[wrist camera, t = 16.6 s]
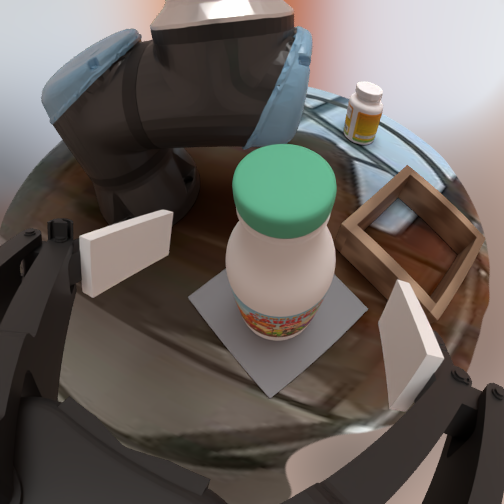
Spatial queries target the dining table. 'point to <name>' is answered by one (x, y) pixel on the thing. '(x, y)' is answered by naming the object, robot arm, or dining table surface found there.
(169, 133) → the robot arm
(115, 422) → the dining table surface
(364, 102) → the supplement bottle
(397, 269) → the walnut crate
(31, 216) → the dining table surface
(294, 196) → the milk bottle
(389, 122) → the dining table surface
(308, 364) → the rubber mat
